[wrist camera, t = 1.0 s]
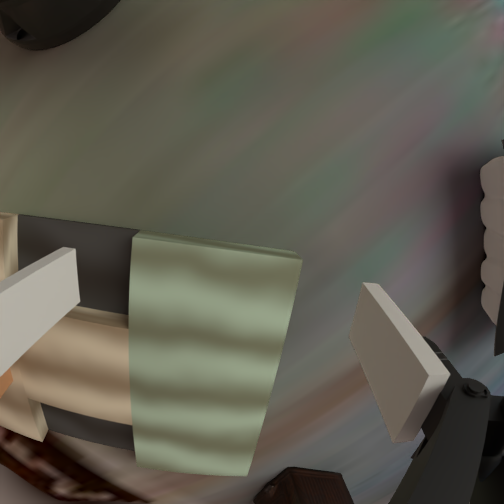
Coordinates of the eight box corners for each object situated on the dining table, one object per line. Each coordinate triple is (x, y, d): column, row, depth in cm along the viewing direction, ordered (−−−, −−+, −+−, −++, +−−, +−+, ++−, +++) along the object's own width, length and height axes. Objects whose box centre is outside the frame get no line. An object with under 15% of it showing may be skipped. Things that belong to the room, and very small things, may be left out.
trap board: (-58, 204, 22) (-74, 208, 19) (293, 251, 28) (302, 260, 25) (-23, 398, 28) (-31, 410, 25) (244, 459, 34) (247, 476, 31)
